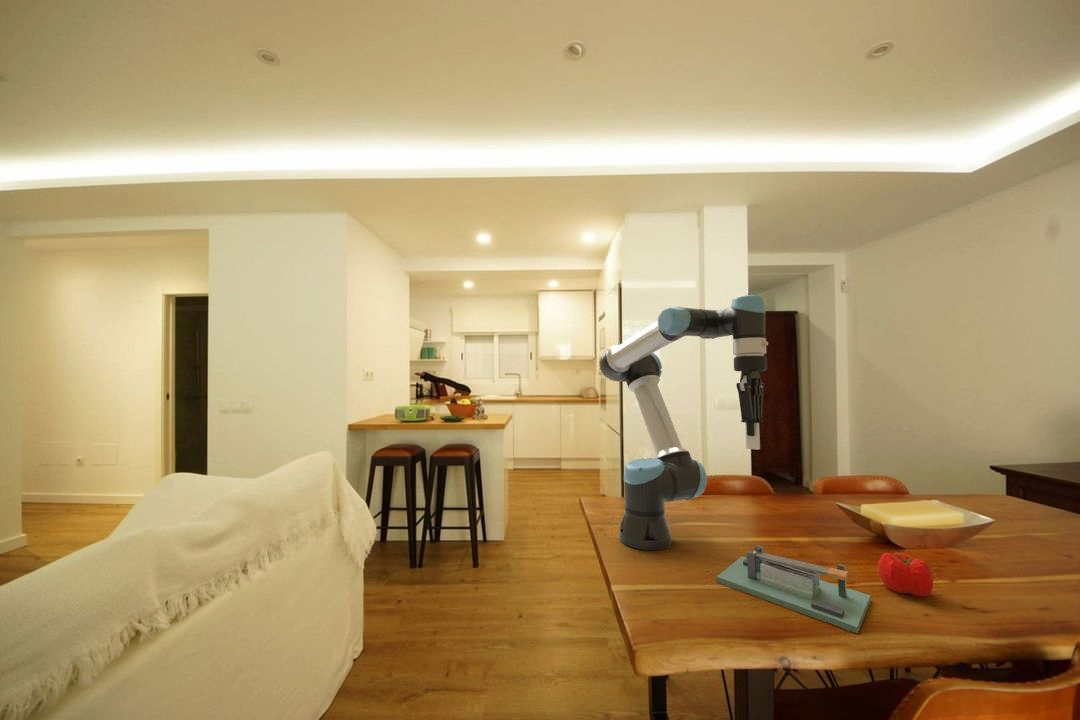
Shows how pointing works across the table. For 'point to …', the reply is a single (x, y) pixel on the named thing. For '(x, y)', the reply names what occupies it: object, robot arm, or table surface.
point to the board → (821, 607)
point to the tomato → (905, 574)
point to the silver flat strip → (803, 565)
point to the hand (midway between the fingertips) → (753, 448)
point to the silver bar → (788, 577)
